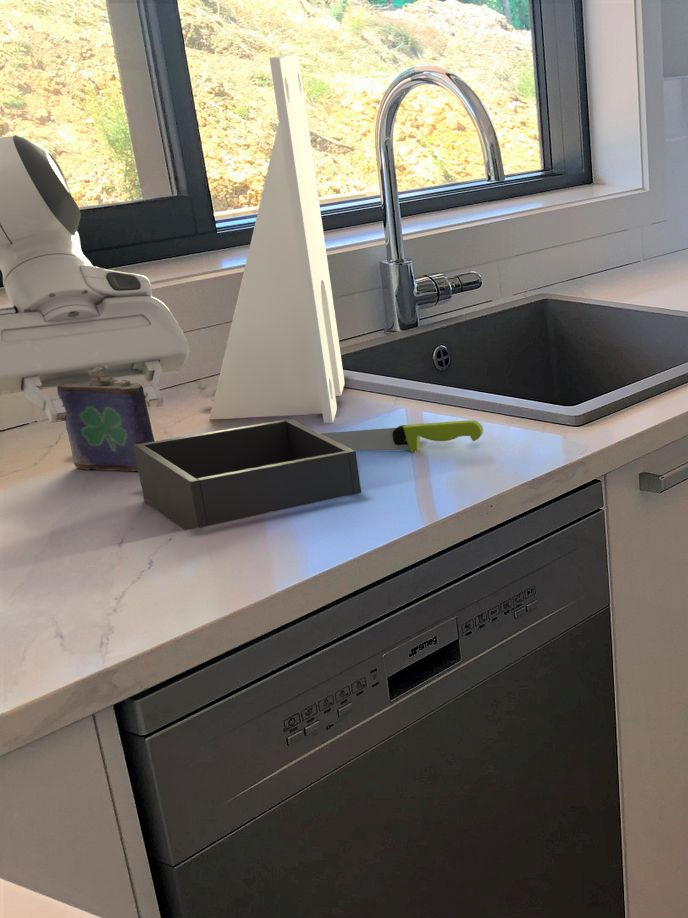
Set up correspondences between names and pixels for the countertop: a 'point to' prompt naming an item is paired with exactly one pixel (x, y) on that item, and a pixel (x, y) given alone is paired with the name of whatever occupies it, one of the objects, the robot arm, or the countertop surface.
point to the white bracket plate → (284, 285)
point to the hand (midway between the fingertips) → (108, 411)
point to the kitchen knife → (406, 435)
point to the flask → (105, 421)
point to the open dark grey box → (243, 472)
